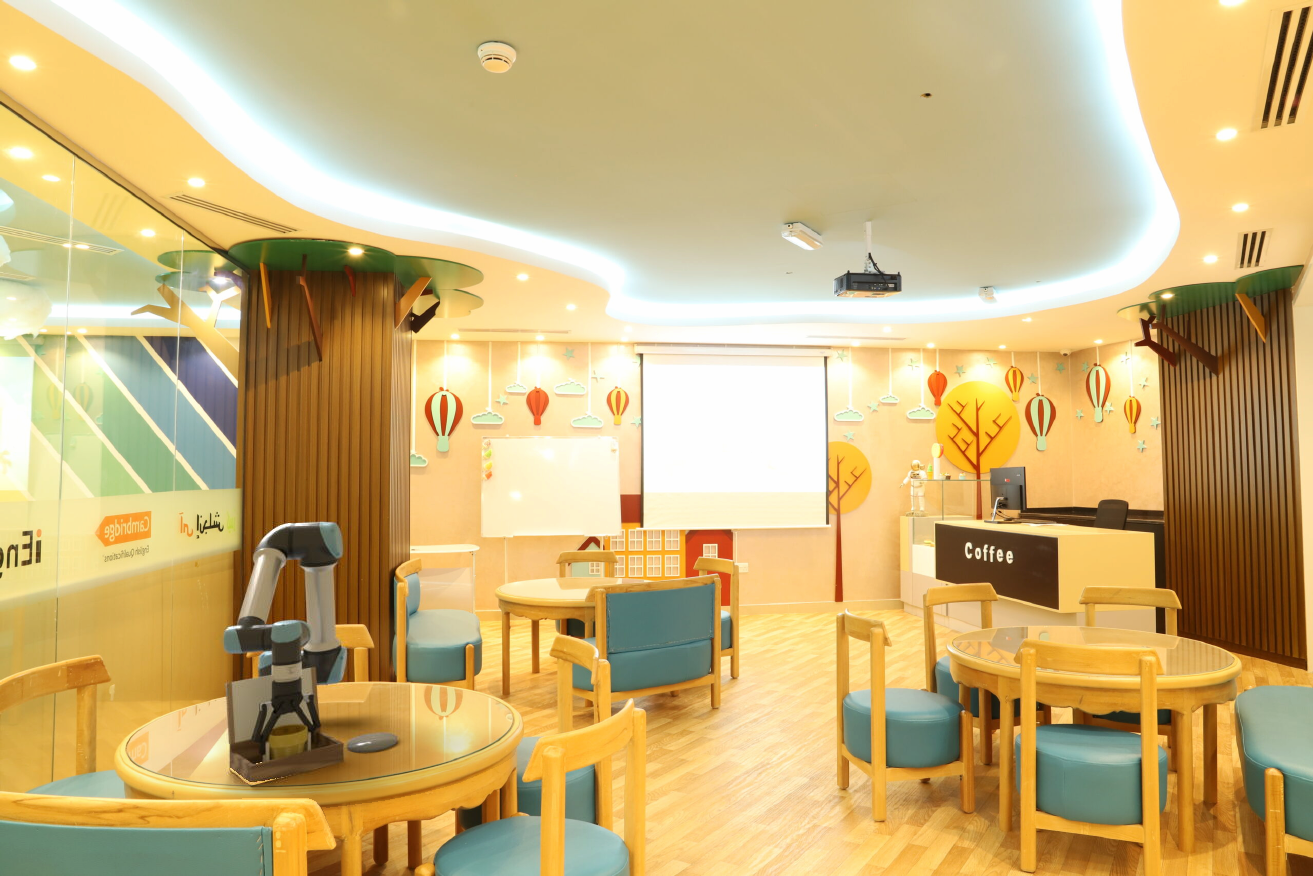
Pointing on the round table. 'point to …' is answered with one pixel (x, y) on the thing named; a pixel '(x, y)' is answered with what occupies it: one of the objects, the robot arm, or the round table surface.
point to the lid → (254, 691)
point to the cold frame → (284, 758)
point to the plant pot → (287, 740)
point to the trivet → (372, 742)
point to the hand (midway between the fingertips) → (287, 761)
